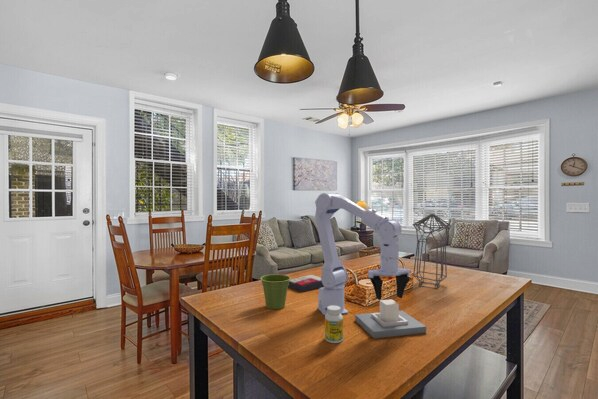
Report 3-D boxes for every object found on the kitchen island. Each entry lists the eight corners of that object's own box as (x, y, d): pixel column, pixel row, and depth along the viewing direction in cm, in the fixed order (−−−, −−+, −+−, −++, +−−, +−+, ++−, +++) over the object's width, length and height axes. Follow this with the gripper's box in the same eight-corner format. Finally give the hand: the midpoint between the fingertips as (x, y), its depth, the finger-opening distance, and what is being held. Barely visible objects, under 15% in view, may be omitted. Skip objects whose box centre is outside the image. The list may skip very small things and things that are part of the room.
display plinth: (373, 338, 92) (373, 328, 92) (355, 320, 106) (355, 311, 106) (426, 332, 96) (426, 323, 96) (401, 315, 110) (401, 307, 110)
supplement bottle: (339, 334, 95) (339, 303, 95) (345, 342, 90) (345, 310, 90) (322, 336, 94) (322, 305, 94) (328, 344, 88) (328, 311, 88)
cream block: (386, 323, 99) (386, 304, 98) (379, 318, 103) (379, 300, 103) (398, 322, 99) (398, 303, 99) (391, 317, 104) (391, 299, 104)
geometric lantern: (417, 279, 159) (419, 212, 159) (450, 285, 150) (453, 214, 150) (408, 286, 146) (411, 213, 146) (444, 293, 137) (447, 215, 137)
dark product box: (287, 279, 145) (311, 273, 154) (287, 288, 146) (311, 281, 155) (301, 285, 137) (326, 277, 146) (301, 294, 137) (326, 286, 146)
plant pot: (297, 306, 119) (297, 277, 119) (274, 314, 111) (274, 283, 110) (276, 299, 127) (276, 272, 127) (253, 306, 119) (253, 277, 119)
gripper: (374, 260, 95) (374, 303, 96) (416, 258, 99) (415, 300, 99) (365, 256, 102) (364, 296, 102) (404, 254, 106) (403, 293, 106)
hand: (389, 298), depth 101 cm, fingers open, 7 cm apart
